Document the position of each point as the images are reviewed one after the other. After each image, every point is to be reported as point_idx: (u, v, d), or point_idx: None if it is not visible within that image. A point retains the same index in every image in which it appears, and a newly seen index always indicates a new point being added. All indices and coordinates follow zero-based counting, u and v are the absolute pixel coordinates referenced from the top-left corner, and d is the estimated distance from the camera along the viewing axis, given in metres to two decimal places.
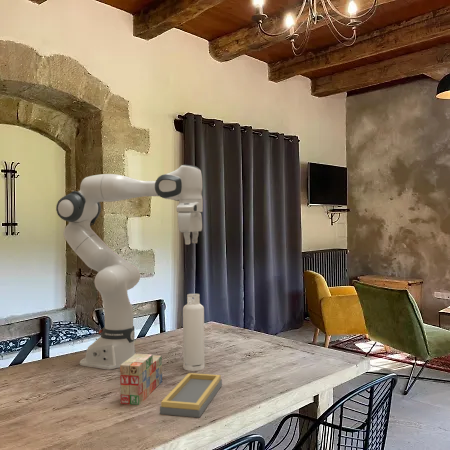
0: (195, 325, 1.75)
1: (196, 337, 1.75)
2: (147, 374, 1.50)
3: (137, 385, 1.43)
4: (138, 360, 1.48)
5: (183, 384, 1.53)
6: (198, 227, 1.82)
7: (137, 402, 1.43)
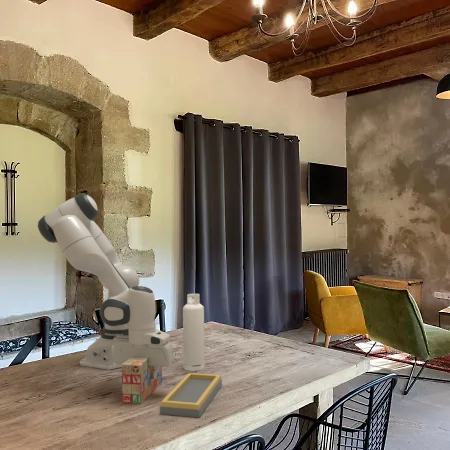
0: (195, 325, 1.75)
1: (196, 337, 1.75)
2: (148, 373, 1.51)
3: (139, 384, 1.44)
4: (139, 359, 1.49)
5: (183, 384, 1.53)
6: None
7: (139, 401, 1.44)
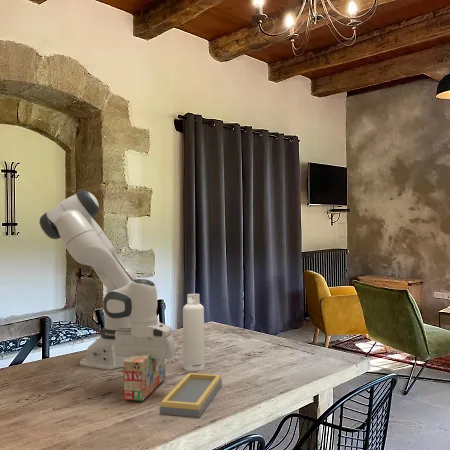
0: (195, 325, 1.75)
1: (196, 337, 1.75)
2: (150, 370, 1.51)
3: (140, 381, 1.44)
4: (141, 356, 1.49)
5: (183, 384, 1.53)
6: None
7: (140, 398, 1.44)
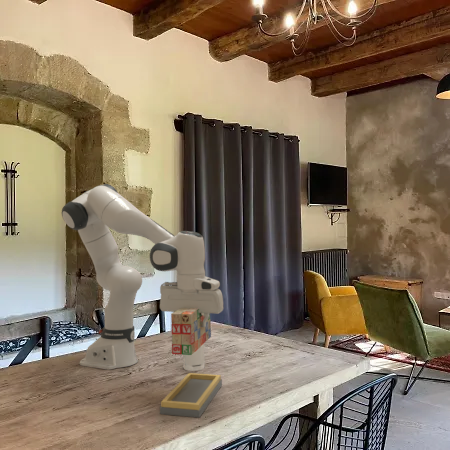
0: None
1: None
2: (198, 325, 1.44)
3: (189, 334, 1.37)
4: (189, 310, 1.42)
5: (183, 384, 1.53)
6: None
7: (189, 352, 1.38)
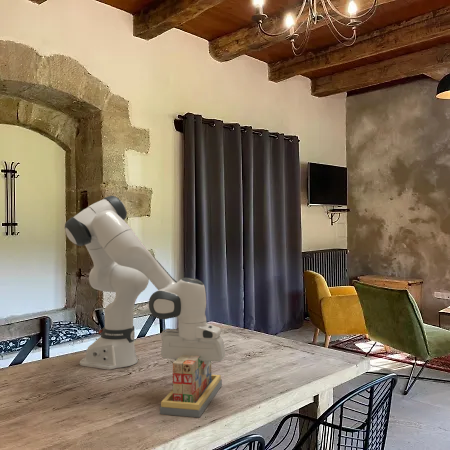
0: None
1: None
2: (199, 372, 1.44)
3: (190, 384, 1.37)
4: (190, 358, 1.42)
5: None
6: None
7: (190, 402, 1.38)
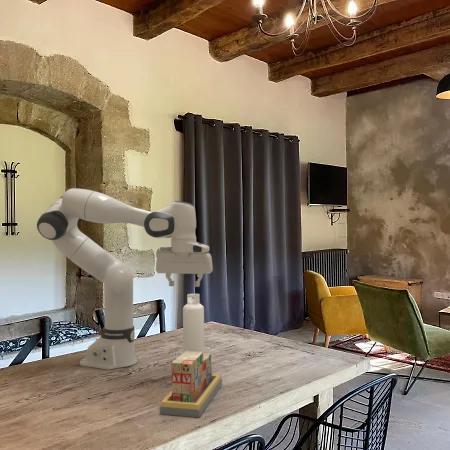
0: (195, 325, 1.75)
1: (196, 337, 1.75)
2: (199, 372, 1.45)
3: (189, 384, 1.38)
4: (189, 358, 1.43)
5: None
6: None
7: (189, 401, 1.38)
